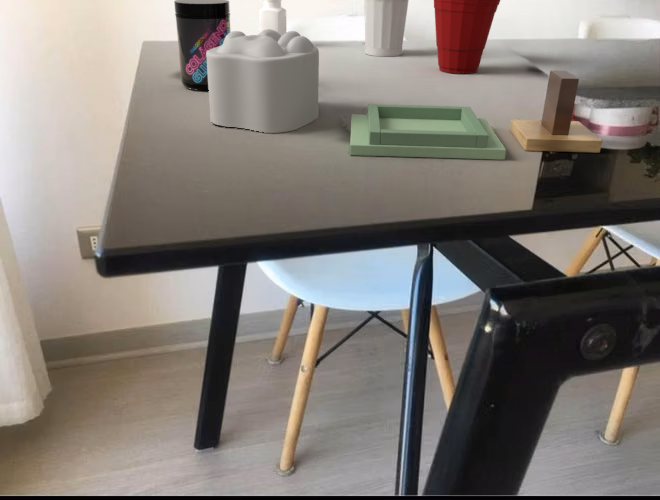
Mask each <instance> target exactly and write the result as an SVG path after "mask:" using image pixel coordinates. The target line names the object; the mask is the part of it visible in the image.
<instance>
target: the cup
mask: <svg viewBox="0 0 660 500" xmlns="http://www.w3.org/2000/svg"><path fill="white" fill-rule="evenodd" d="M363 3H364V4H363V5H364V7H363V8H364V9H363V10H364V39H365V40H364V41H365V45H364V47H365V49H364V53H365V54H366V55H368V56H373V57H398V56H402V54H403V45H404V44H403V43H404V37H405V29H406V21H407V16H408V15H407V14H408V7H409V0H363Z"/></svg>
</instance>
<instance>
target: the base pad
mask: <svg viewBox="0 0 660 500" xmlns="http://www.w3.org/2000/svg"><path fill="white" fill-rule="evenodd" d="M349 143H350V144H349V155H350V156H365V157H397V158H426V159H427V158H429V159H431V158H433V159H463V160H465V159H466V160H493V161H494V160H498V161H499V160H500V161H504V160H506V155H507V149H506V147H505V145H504V144H503V143H502V141H501V140H500V139H499V137H498V136H497V134H496V132H495V131H494V130H493V128H492V127H491V126H490V124H489V123H488V122H487V120H486V118H484V117H477V115H476V114H475V112H474V111H473V110H472V107H471V106H459V105H455V106H452V105H421V104H420V105H419V104H385V103H380V104H379V103H368V105H367V114H351V121H350V142H349Z"/></svg>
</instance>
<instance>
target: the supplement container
mask: <svg viewBox="0 0 660 500" xmlns="http://www.w3.org/2000/svg"><path fill="white" fill-rule="evenodd" d="M173 3H174V12H175V13H174V16H175V21H176V22H175V24H176V37H177V44H178V45H177V48H178V58H179V59H178V60H179V69H180V70H179V71H180V80H181V84H182V86H183V87H184V88H185V87H187V88H191V89H197V90H208V74H207V58H206V52H207V51H208V50H210V49H212V48H216V47H219V46H221V45H222V44H223V42H224V39H225V37H226V36H227V34H229V33H230V32H232V31H231V9H230V7H231V6H230V0H174V1H173ZM187 88H186V89H187Z"/></svg>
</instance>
